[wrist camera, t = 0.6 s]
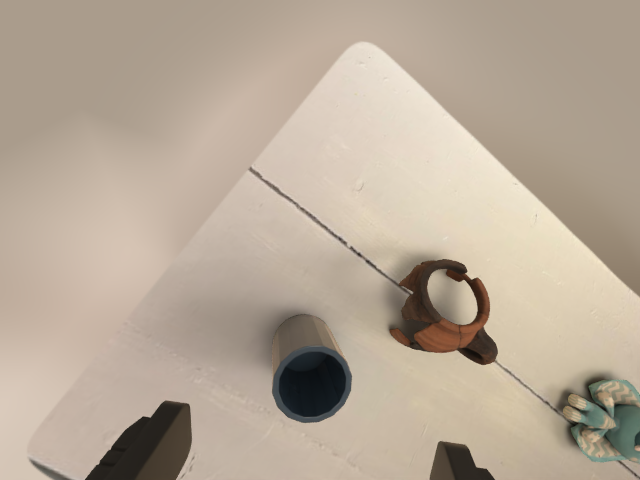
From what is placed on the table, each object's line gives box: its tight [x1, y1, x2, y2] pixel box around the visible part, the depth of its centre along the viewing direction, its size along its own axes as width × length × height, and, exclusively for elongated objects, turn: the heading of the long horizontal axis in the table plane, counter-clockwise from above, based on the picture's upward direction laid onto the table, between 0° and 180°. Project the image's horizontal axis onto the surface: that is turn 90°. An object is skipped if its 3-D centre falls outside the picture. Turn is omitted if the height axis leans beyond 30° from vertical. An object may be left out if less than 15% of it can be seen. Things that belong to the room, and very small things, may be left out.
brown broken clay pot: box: [390, 259, 498, 365], centre depth 32 cm, size 12×9×8 cm
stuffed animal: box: [563, 380, 640, 464], centre depth 36 cm, size 11×7×12 cm
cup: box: [272, 314, 352, 423], centre depth 28 cm, size 6×6×8 cm
